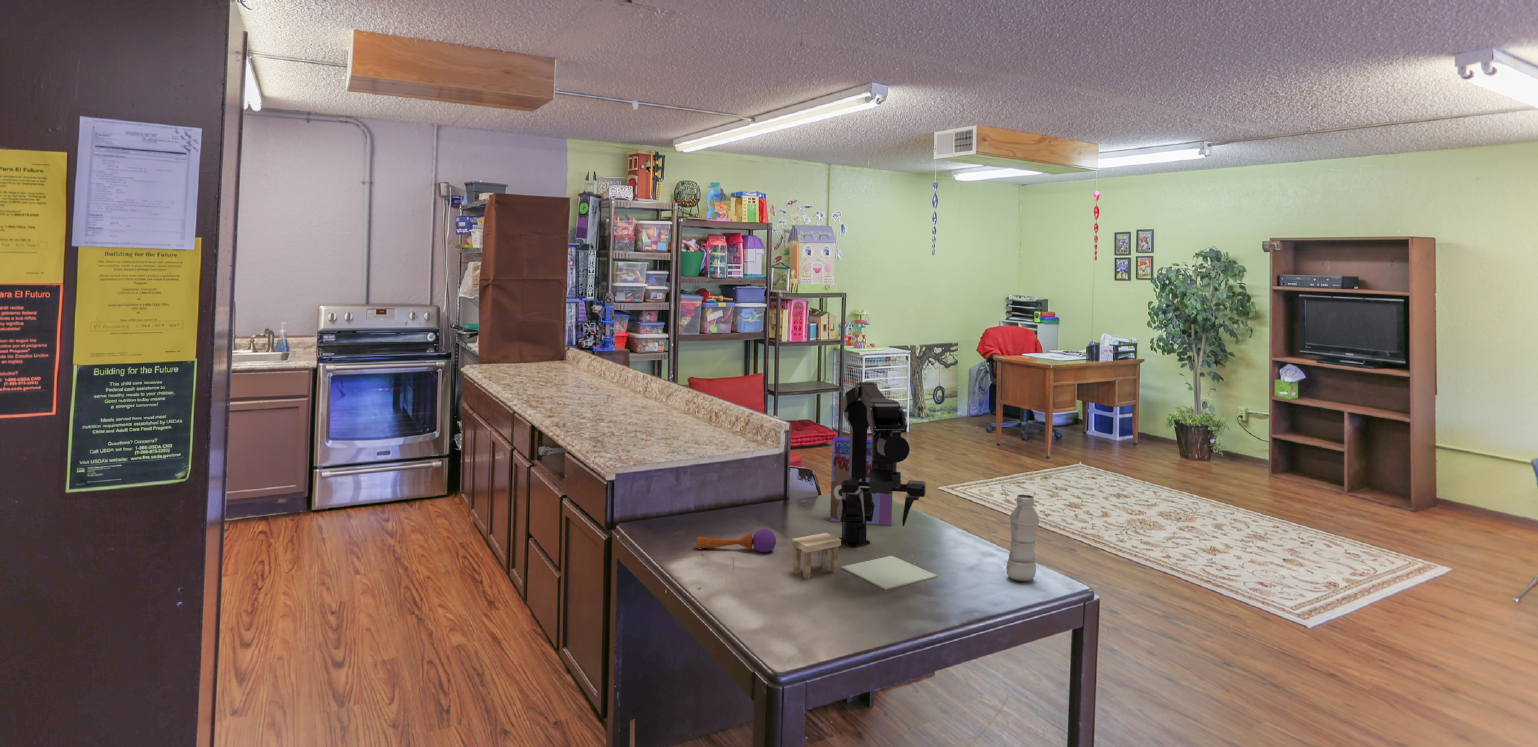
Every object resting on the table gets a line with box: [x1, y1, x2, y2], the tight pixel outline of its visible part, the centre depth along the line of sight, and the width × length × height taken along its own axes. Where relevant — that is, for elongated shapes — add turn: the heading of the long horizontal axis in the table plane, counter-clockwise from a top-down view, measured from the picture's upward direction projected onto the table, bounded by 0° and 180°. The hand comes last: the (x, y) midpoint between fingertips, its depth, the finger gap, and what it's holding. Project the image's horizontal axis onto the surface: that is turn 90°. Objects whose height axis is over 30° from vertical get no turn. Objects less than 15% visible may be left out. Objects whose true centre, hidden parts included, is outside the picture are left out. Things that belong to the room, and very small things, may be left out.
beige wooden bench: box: [791, 532, 842, 580], centre depth 190 cm, size 6×10×8 cm, turn 123°
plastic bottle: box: [1005, 493, 1040, 582], centre depth 187 cm, size 6×7×20 cm
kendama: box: [696, 528, 777, 554], centre depth 205 cm, size 6×6×20 cm
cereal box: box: [829, 437, 894, 527], centre depth 231 cm, size 17×5×24 cm, turn 81°
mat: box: [841, 555, 938, 591], centre depth 191 cm, size 16×16×1 cm
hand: (883, 524), depth 183 cm, fingers open, 9 cm apart
